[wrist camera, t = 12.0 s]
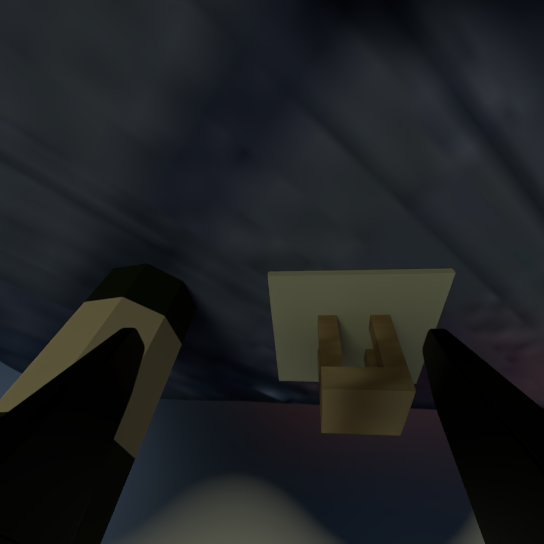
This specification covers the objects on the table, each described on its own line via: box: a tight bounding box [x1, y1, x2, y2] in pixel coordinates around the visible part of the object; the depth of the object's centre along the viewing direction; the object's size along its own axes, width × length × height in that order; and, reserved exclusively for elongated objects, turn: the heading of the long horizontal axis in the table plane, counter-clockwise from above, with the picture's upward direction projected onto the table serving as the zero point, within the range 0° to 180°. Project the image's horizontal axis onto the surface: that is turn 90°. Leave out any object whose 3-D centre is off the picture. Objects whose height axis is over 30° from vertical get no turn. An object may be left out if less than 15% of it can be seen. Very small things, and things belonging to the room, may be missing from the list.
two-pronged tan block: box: [318, 315, 416, 436], centre depth 24 cm, size 6×6×7 cm
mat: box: [268, 268, 455, 384], centre depth 27 cm, size 14×14×1 cm
